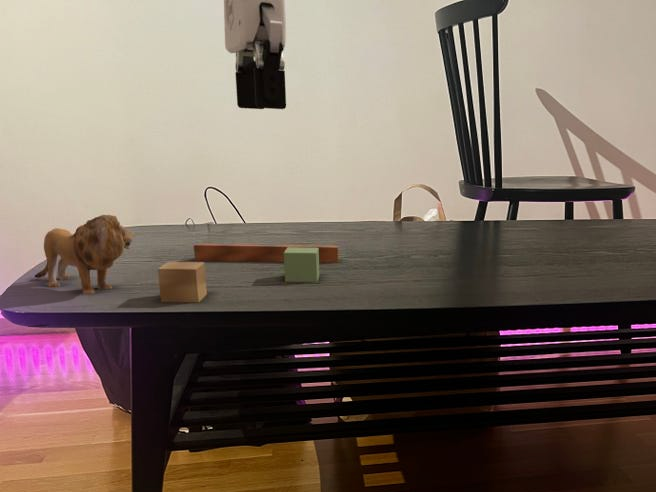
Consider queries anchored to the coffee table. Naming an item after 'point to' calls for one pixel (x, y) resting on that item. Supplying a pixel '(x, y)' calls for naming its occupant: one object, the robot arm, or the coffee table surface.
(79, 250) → the lion figurine
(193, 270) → the maple block
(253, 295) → the coffee table surface
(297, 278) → the sage block
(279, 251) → the rail
